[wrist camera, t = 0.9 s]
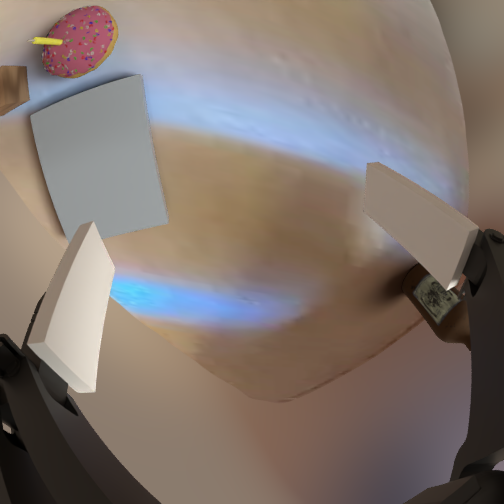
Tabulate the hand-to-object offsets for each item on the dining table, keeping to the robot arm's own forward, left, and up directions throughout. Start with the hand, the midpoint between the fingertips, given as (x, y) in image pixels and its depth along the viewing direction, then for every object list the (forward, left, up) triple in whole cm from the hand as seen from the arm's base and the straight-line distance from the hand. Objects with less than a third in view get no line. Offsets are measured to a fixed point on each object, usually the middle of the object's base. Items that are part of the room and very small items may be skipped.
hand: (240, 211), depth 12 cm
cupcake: (-15, -12, -22) cm, 29 cm away
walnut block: (-14, -24, -22) cm, 35 cm away
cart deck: (0, -13, -22) cm, 26 cm away
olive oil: (+35, +44, -22) cm, 61 cm away
